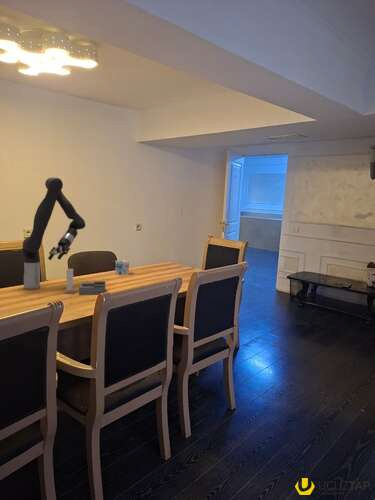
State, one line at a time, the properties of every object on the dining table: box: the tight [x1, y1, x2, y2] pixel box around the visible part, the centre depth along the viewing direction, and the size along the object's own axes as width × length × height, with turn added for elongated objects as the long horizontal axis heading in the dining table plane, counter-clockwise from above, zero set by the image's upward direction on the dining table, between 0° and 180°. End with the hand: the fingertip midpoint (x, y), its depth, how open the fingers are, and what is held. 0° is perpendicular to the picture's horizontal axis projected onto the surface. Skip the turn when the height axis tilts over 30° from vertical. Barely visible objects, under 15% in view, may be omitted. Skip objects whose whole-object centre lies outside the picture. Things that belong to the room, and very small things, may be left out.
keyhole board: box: [78, 280, 106, 296], centre depth 224 cm, size 16×12×6 cm
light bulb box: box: [114, 259, 130, 276], centre depth 279 cm, size 11×7×11 cm, turn 105°
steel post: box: [64, 268, 76, 294], centre depth 220 cm, size 6×6×15 cm
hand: (53, 259), depth 221 cm, fingers open, 8 cm apart
